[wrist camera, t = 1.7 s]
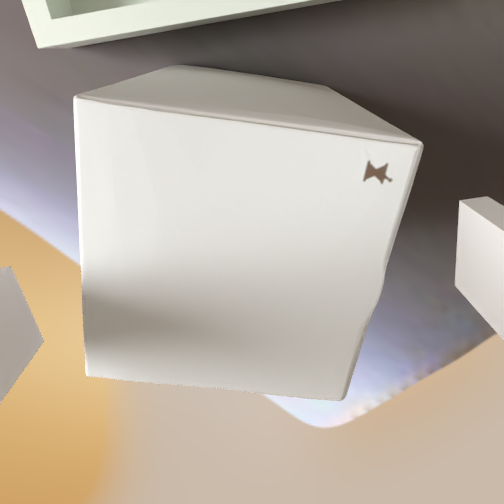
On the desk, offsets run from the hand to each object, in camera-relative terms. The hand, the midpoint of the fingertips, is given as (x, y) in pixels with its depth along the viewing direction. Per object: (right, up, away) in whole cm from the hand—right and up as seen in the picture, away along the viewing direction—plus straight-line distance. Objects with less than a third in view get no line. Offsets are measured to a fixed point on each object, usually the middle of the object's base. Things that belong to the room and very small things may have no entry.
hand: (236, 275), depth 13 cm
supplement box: (0, +7, +13) cm, 15 cm away
